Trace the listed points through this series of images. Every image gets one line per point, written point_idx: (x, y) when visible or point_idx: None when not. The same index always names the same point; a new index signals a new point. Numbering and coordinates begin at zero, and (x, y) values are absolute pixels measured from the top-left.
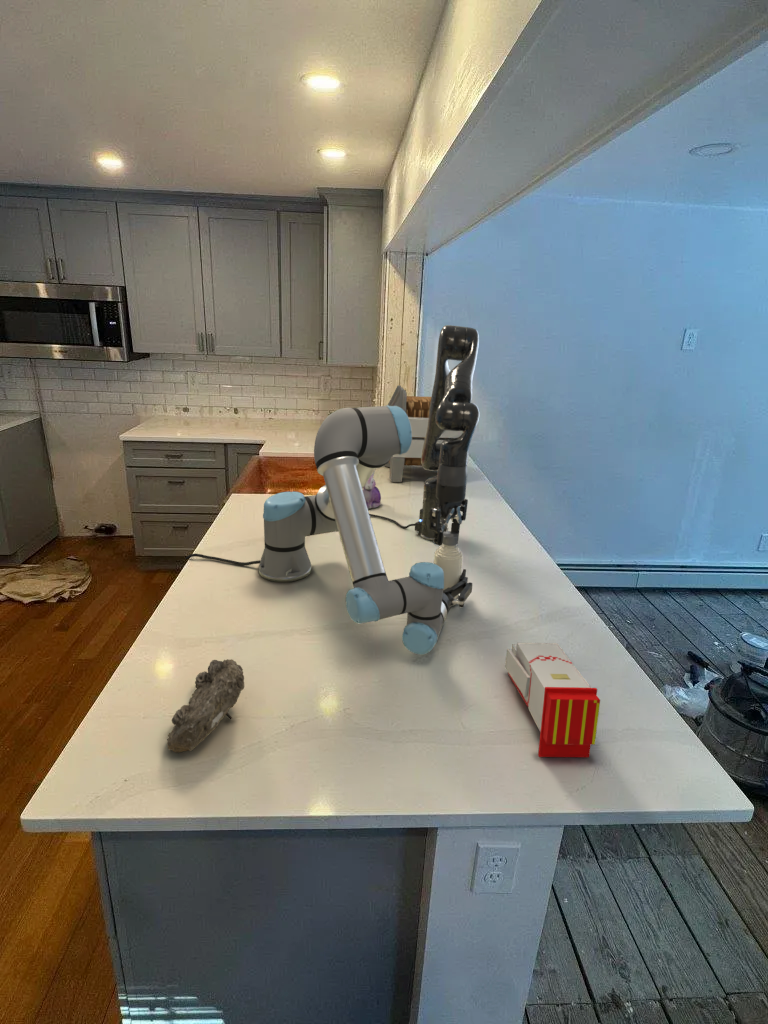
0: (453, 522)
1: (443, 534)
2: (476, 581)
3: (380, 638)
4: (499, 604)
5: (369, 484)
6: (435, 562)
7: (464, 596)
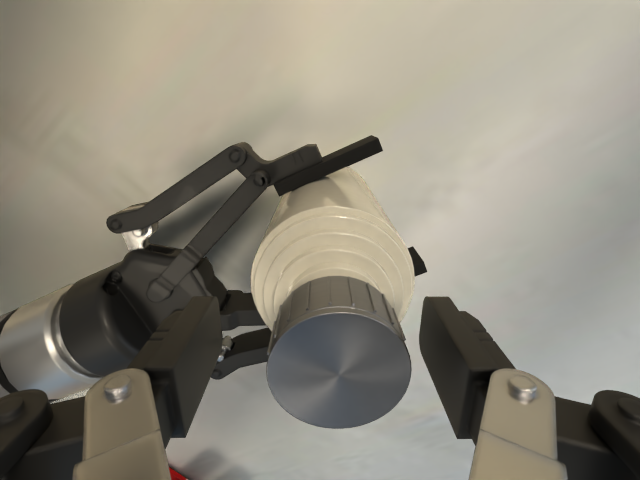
0: (481, 394)
1: (288, 341)
2: (520, 210)
3: (4, 208)
4: (417, 331)
5: None
6: (265, 233)
7: (230, 372)
